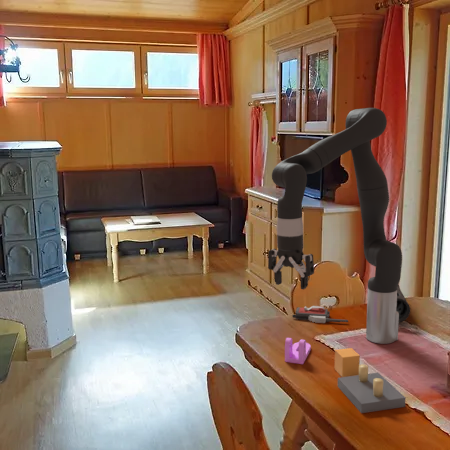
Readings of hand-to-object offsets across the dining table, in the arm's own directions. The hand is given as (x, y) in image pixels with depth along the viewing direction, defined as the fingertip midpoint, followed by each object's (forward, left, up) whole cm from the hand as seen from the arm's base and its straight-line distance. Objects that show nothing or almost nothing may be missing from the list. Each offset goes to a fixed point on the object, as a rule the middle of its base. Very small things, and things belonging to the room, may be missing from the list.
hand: (290, 286), depth 156 cm
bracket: (-4, -4, -24) cm, 25 cm away
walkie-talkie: (-22, -30, -24) cm, 45 cm away
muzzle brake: (-50, -30, -24) cm, 63 cm away
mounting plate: (-13, +25, -24) cm, 37 cm away
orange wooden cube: (-13, +11, -24) cm, 29 cm away
